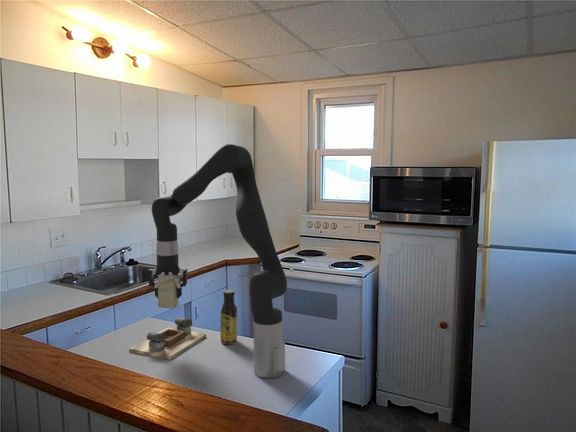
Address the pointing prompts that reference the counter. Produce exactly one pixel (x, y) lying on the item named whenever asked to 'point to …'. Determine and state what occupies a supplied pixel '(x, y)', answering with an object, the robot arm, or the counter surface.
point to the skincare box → (167, 291)
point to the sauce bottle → (228, 319)
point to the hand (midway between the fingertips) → (168, 297)
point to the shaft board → (169, 341)
